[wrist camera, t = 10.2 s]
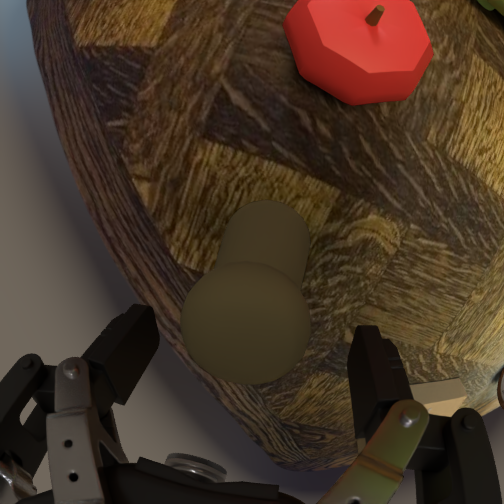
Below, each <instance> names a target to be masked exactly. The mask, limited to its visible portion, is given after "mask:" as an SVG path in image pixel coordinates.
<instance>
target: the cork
mask: <svg viewBox="0 0 504 504" xmlns="http://www.w3.org/2000/svg"><path fill="white" fill-rule="evenodd" d="M310 244H311V242H310V234H309V229H308V227H307V225H306V223H305V221H304V219H303V218H302V217H301V216H300V215H299V214H298V213H297V212H296V211H295V210H294V209H293V208H291V207H289V206H287V205H285V204H283V203H281V202H277V201H271V200H261V201H255V202H251V203H249V204H247V205H245V206H243V207H241V208H240V209H239V210H238V211H237V212H236V213H235V214H234V215H233V216H232V217H231V218H230V220H229V223H228V225H227V227H226V229H225V233H224V236H223V239H222V243H221V246H220V250H219V253H218V256H217V260H216V263H215V267H214V269H213V270H211V271H210V272H208V273H206V274H205V275H204V276H203V277H202V278H201V279H200V280H199V281H198V282H197V283H196V284H195V285H194V286H193V287H192V289H191V290H190V292H189V293H188V295H187V298H186V300H185V303H184V305H183V308H182V312H181V318H180V320H181V334H182V338H183V341H184V343H185V346H186V348H187V350H188V352H189V354H190V356H191V357H192V358H193V359H194V360H195V362H196V363H197V364H198V365H199V366H200V367H202V368H203V369H204V370H206V371H207V372H209V373H210V374H211V375H213V376H216V377H218V378H220V379H223V380H225V381H228V382H233V383H238V384H263V383H267V382H271V381H274V380H276V379H278V378H280V377H282V376H283V375H285V374H287V373H288V372H289V371H290V370H291V369H293V368H294V366H295V365H296V364H297V363H298V362H299V361H300V360H301V358H302V357H303V356H304V353H305V350H306V347H307V344H308V341H309V338H310V335H311V323H310V313H309V306H308V304H307V303H306V301H305V299H304V297H303V295H302V293H301V286H302V282H303V277H304V273H305V268H306V264H307V259H308V254H309V249H310Z"/></svg>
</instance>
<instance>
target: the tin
mask: <svg viewBox="0 0 504 504" xmlns="http://www.w3.org/2000/svg"><path fill="white" fill-rule="evenodd" d="M497 396H498V400H499V403H500V405H501V407H502V408H503V409H504V369H503V371H502V373H501V375H500V378H499V381H498V387H497Z"/></svg>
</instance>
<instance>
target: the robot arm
mask: <svg viewBox="0 0 504 504" xmlns="http://www.w3.org/2000/svg"><path fill="white" fill-rule="evenodd" d="M159 341H160V336H159V332H158V327H157V323H156V319H155V314H154V310H153V308H152V307H151V306H146V305H140V304H133V305H132V306H131V307H130V308H129V309H128V310H127V312H126V313H125V314H121V315H119V316H118V317H116V318H114V319H113V320H112V321H111V322H110V323H109V324H108V325H107V327H106V329H104V330H103V331H102V332H101V335H99V336H98V337H97V338H96V340H95V341H94V342H93V343H92V344H91V345H90V347H89V348H88V349H87V350H86V351H85V353H84V354H83V355H82V356H81V357H80V358H79V357H71V358H68V359H66V360H64V361H62V362H61V363H60V364H59V365H58V366H51V365H44V363H43V361H42V360H41V358H40V357H39V356H38V355H37V354H27V355H25V356H23V357H21V358H20V359H19V360H18V361H17V362H16V363H15V364H14V366H13V367H12V368H11V369H10V371H9V372H8V373H7V374H6V376H5V377H4V378H3V379H2V381H1V382H0V504H305V503H303V502H302V501H301V500H299V499H297V498H295V497H293V496H290V495H288V494H284V493H281V492H278V490H279V485H271V484H260V483H251V482H243V481H241V482H220V483H218V479H217V478H216V477H215V476H213V475H211V474H209V473H207V472H205V471H202V470H199V469H196V468H192V467H188V466H182V465H172V466H168V465H164V464H161V463H158V462H155V461H152V460H149V459H146V458H143V457H139V459H138V462H137V463H129V461H128V459H127V457H126V455H125V454H124V452H123V449H122V447H121V443H120V439H119V436H118V432H117V427H116V424H115V419H114V414H113V410H112V408H111V406H112V405H113V403H114V402H115V403H118V404H121V405H125V404H126V402H127V400H128V398H129V397H130V395H131V393H132V391H133V390H134V388H135V386H136V384H137V383H138V381H139V379H140V378H141V376H142V374H143V373H144V371H145V369H146V367H147V366H148V364H149V362H150V361H151V359H152V357H153V356H154V354H155V352H156V351H157V349H158V346H159ZM347 371H348V378H349V385H350V393H351V401H352V409H353V418H354V428H355V439H361V438H365V442H366V446H365V447H364V448H363V450H362V451H361V452H360V454H359V455H358V456H357V458H356V459H355V460H354V461H353V463H352V464H351V465H350V466H349V468H348V469H347V470H346V471H345V472H344V474H343V475H342V476H341V477H340V478H339V479H338V481H337V482H336V483H335V484H334V485H333V486H332V487H331V488H330V490H329V491H328V492H327V493H326V494H325V495H324V496H323V497H322V498H321V499H320V500H319V501H318V502H317V503H316V504H388V503H389V501H390V500H391V498H392V497H393V495H394V494H395V492H396V491H397V489H398V488H399V486H400V484H401V483H402V481H403V478H404V476H403V475H402V474H403V472H404V470H405V469H412V470H415V482H416V499H417V504H502V498H501V492H500V485H499V480H498V475H497V470H496V465H495V461H494V457H493V453H492V449H491V445H490V442H489V438H488V435H487V431H486V428H485V425H484V422H483V419H482V417H481V415H480V414H479V413H478V412H477V411H475V410H474V409H471V408H461V409H458V410H457V411H456V412H455V413H454V414H453V415H452V416H451V417H447V416H440V415H433V414H429V413H428V411H427V409H426V407H425V406H424V405H423V404H421V403H420V402H418V401H416V400H414V397H413V394H412V391H411V388H410V384H409V381H408V378H407V375H406V372H405V369H404V368H403V364H402V361H401V360H400V355H399V352H398V349H397V347H396V346H395V345H394V344H393V343H392V342H391V341H390V340H389V339H382V337H381V334H380V332H379V329H378V327H377V326H376V325H358V326H357V327H356V330H355V334H354V337H353V341H352V344H351V348H350V351H349V355H348V361H347ZM31 397H32V398H33V399H34V400H35V402H36V403H37V405H36V406H35V408H34V409H33V411H32V412H31V414H30V415H29V417H28V418H27V420H26V422H25V423H24V425H22V424H21V423H20V414H21V412H22V410H23V408H24V407H25V406H26V404H27V403H28V402H29V400H30V399H31ZM47 450H48V460H49V469H50V477H51V483H52V489H51V490H48V491H46V492H42V493H40V494H37V489H36V487H35V486H34V485H33V481H32V479H33V477H34V475H35V473H36V471H37V469H38V467H39V465H40V463H41V461H42V460H43V458H44V456H45V454H46V452H47Z"/></svg>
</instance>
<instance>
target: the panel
mask: <svg viewBox="0 0 504 504" xmlns="http://www.w3.org/2000/svg"><path fill="white" fill-rule="evenodd" d="M410 388H411V391H412V394H413V397H414V400H416V401H418V402H420V403H421V404H423V405H424V406H425V407H426V409H427V411H428V413H429V414H433V415H440V416H447V417H451V416H452V415H453V414H454V413H455V412H456V411H457V409H458V408H459V407H460V405H461V404H462V403H463V401H464V400H465V399H466V397H467V393H466V391H465V389H464V387H463V385H462V383H461V380H460V378H456V379H450V380H444V381H437V382H430V383H423V384H414V385H410ZM357 444H358V455H359V454H360V452H361V451H362V450H363V448H364V447H365V446H366V442H365V438H361V439H358V440H357Z"/></svg>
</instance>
